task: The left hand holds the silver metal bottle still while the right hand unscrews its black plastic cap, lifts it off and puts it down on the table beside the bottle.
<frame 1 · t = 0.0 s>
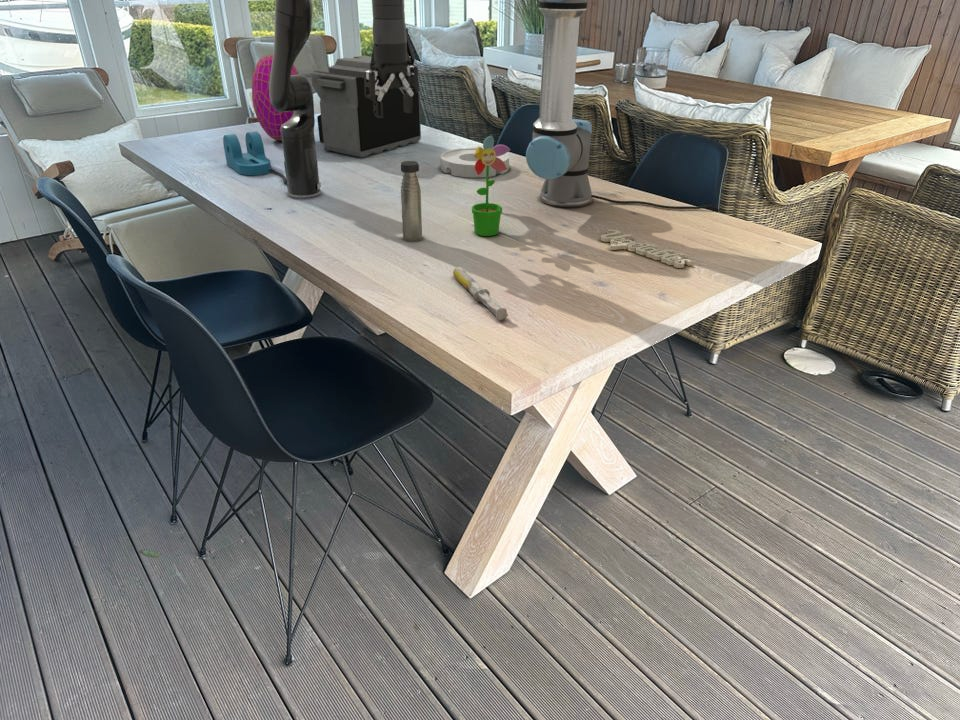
left hand: (393, 115, 163), 29 cm above the table, tool pointing down, fingers open, 8 cm apart
right hand: (394, 93, 197), 28 cm above the table, tool pointing down, fingers open, 13 cm apart
camera mount: (251, 168, 229), on the table
cap: (409, 164, 165), point 19 cm above the table, screwed on, not yet turned
ashtray: (474, 168, 233), on the table
potted flower: (487, 232, 179), on the table
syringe: (478, 297, 145), on the table
cooler box: (371, 146, 258), on the table
decorative egg: (284, 140, 265), on the table
decorative sign: (640, 251, 169), on the table
bottle: (412, 238, 175), on the table
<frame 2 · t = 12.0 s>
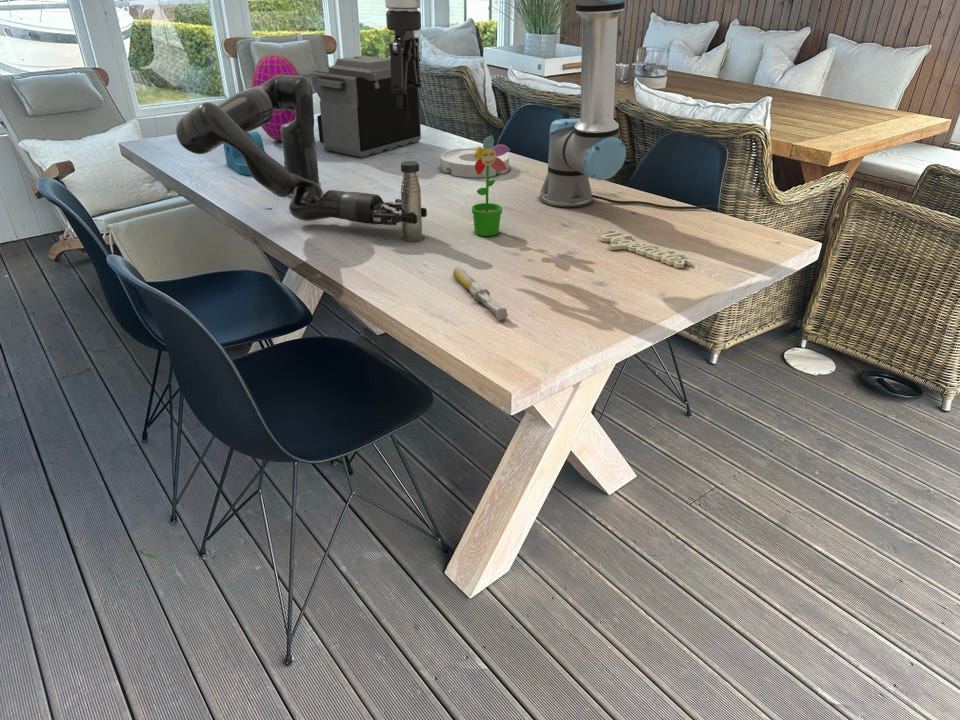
left hand: (421, 215, 171), 6 cm above the table, tool horizontal, fingers closed on bottle, 5 cm apart
right hand: (407, 120, 160), 29 cm above the table, tool pointing down, fingers open, 7 cm apart
bottle: (412, 238, 175), on the table, touching left hand
everything else where it was.
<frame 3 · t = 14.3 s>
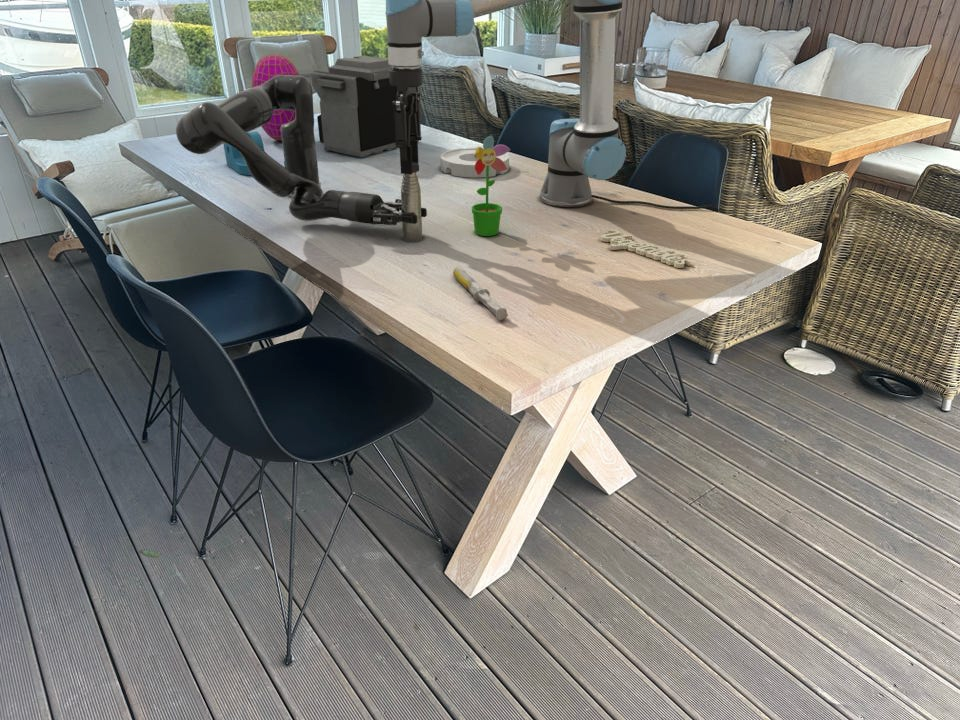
left hand: (421, 215, 171), 6 cm above the table, tool horizontal, fingers closed on bottle, 5 cm apart
right hand: (409, 170, 166), 17 cm above the table, tool pointing down, fingers closed on cap, 4 cm apart
cap: (409, 164, 165), point 19 cm above the table, screwed on, not yet turned, touching right hand
bottle: (412, 238, 175), on the table, touching left hand
everything else where it was.
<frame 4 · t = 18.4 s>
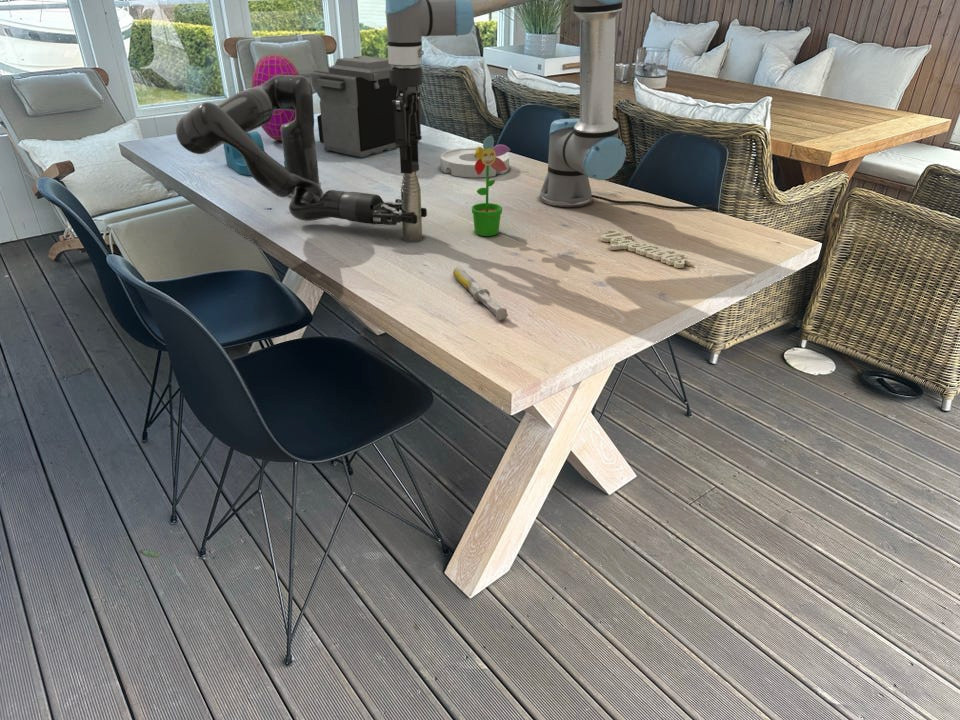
left hand: (421, 215, 171), 6 cm above the table, tool horizontal, fingers closed on bottle, 5 cm apart
right hand: (409, 170, 166), 17 cm above the table, tool pointing down, fingers closed on cap, 4 cm apart
cap: (409, 163, 165), point 19 cm above the table, turned 144° so far, risen 0.2 cm, still on its thread, touching right hand
bottle: (412, 238, 175), on the table, touching left hand
everything else where it was.
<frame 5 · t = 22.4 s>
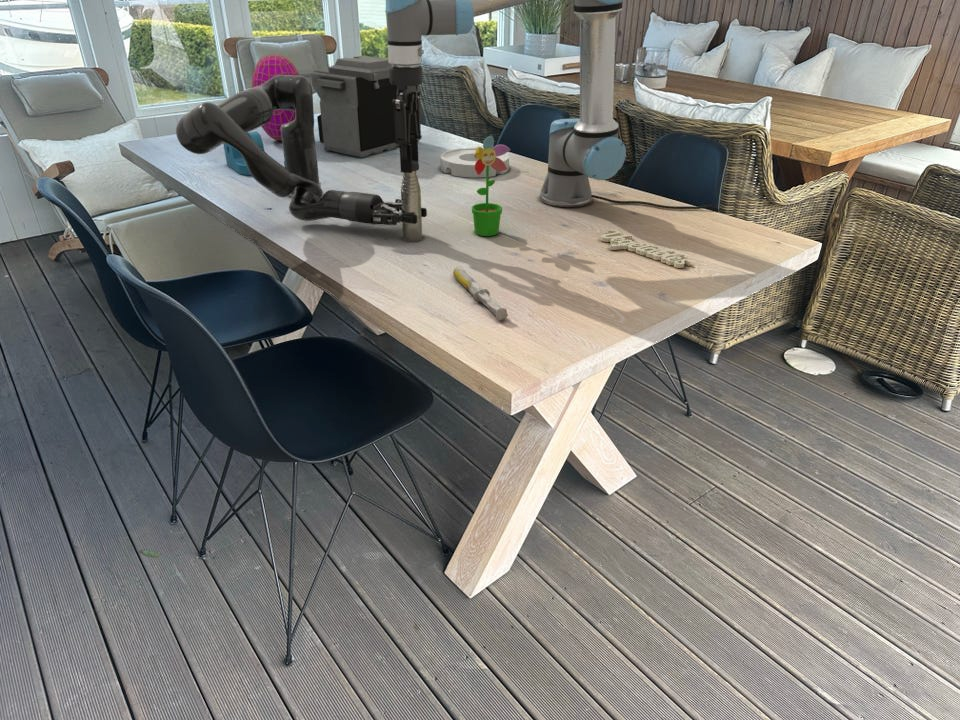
left hand: (421, 215, 171), 6 cm above the table, tool horizontal, fingers closed on bottle, 5 cm apart
right hand: (409, 169, 166), 18 cm above the table, tool pointing down, fingers closed on cap, 4 cm apart
cap: (409, 163, 165), point 19 cm above the table, turned 288° so far, risen 0.3 cm, still on its thread, touching right hand
bottle: (412, 238, 175), on the table, touching left hand
everything else where it was.
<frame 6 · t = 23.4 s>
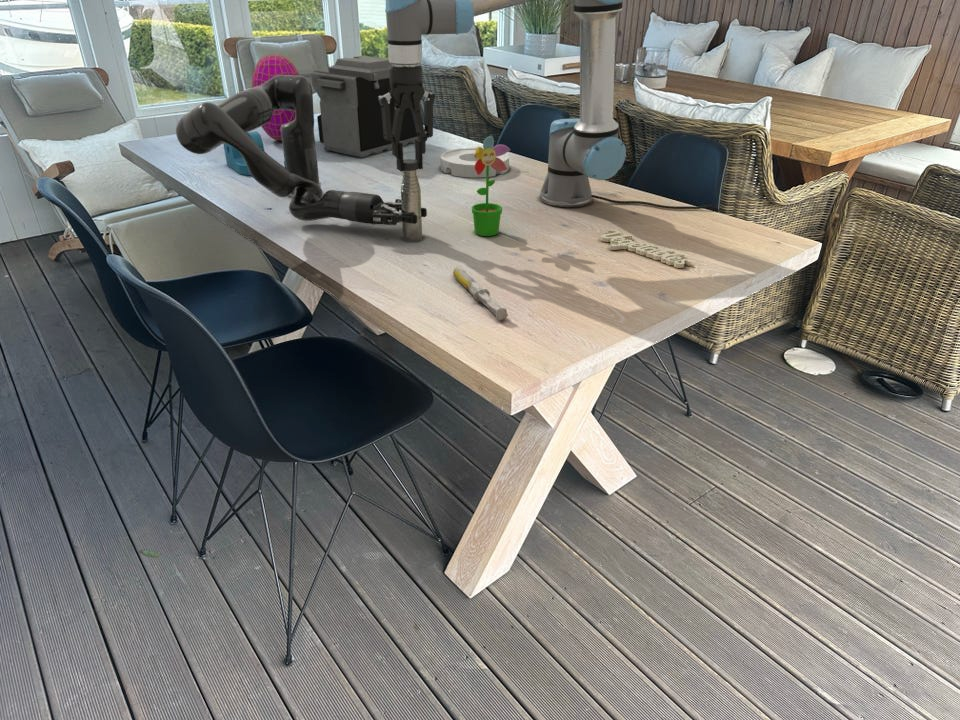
left hand: (421, 215, 171), 6 cm above the table, tool horizontal, fingers closed on bottle, 5 cm apart
right hand: (409, 168, 166), 18 cm above the table, tool pointing down, fingers closed on cap, 4 cm apart
cap: (409, 162, 165), point 19 cm above the table, off its thread, touching right hand
bottle: (412, 238, 175), on the table, touching left hand
everything else where it was.
when the right hand's fingers open (1 cm above the table, at t = 29.8 s): cap stays where it is, point 1 cm above the table.
when the left hand's fingers open (6 cm above the table, at t = 31.0 s): bottle stays where it is, on the table.
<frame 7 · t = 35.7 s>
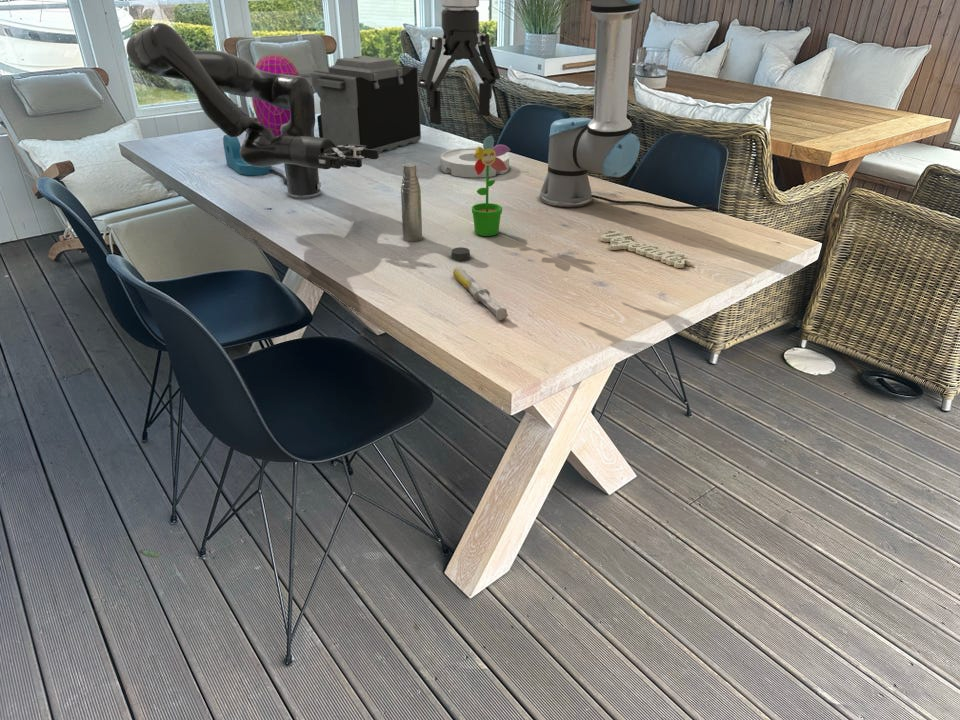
left hand: (369, 158, 168), 19 cm above the table, tool horizontal, fingers open, 8 cm apart
right hand: (460, 119, 148), 32 cm above the table, tool pointing down, fingers open, 13 cm apart
cap: (460, 251, 163), point 1 cm above the table, off its thread
bottle: (412, 238, 175), on the table
everything else where it was.
at the end: cap came off its thread; cap point 1.5 cm above the table; the left hand is holding nothing; the right hand is holding nothing; bottle tilted 0°; bottle moved 0.0 cm from its start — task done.
